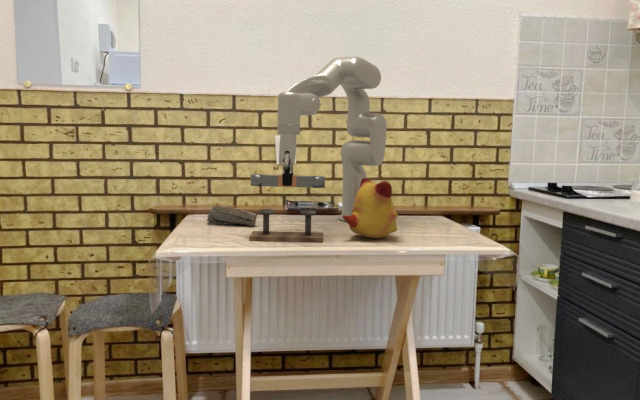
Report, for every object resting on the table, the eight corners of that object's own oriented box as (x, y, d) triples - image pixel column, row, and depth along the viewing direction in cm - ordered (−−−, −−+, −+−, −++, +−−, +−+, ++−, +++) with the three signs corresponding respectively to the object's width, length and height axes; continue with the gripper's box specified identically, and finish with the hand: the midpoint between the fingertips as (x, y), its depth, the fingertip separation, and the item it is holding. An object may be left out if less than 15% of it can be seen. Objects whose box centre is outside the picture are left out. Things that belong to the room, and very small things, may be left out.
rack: (322, 236, 196) (323, 209, 195) (322, 242, 187) (323, 213, 186) (252, 235, 197) (252, 207, 195) (249, 240, 188) (249, 212, 186)
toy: (409, 240, 193) (412, 181, 190) (359, 247, 182) (361, 184, 179) (373, 230, 210) (375, 175, 207) (325, 235, 198) (326, 178, 196)
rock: (245, 240, 210) (256, 214, 210) (200, 220, 210) (211, 195, 210) (250, 238, 220) (260, 214, 220) (207, 219, 221) (217, 196, 221)
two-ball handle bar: (324, 186, 195) (325, 175, 195) (324, 188, 190) (324, 177, 190) (251, 184, 196) (251, 173, 195) (249, 185, 191) (249, 174, 190)
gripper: (280, 129, 199) (279, 182, 201) (274, 130, 182) (273, 187, 185) (301, 130, 199) (300, 182, 201) (298, 130, 182) (297, 188, 184)
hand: (287, 184), depth 193 cm, fingers closed on two-ball handle bar, 4 cm apart
